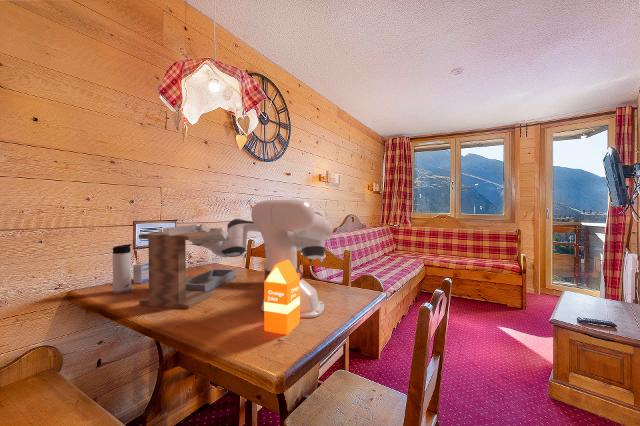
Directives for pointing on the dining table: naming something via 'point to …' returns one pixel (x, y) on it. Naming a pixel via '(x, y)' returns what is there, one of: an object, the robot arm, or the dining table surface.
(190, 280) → the blue-gray tray
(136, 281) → the medicine box
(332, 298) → the dining table surface
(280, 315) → the orange juice
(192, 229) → the bar
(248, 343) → the dining table surface
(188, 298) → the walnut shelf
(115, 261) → the travel mug
